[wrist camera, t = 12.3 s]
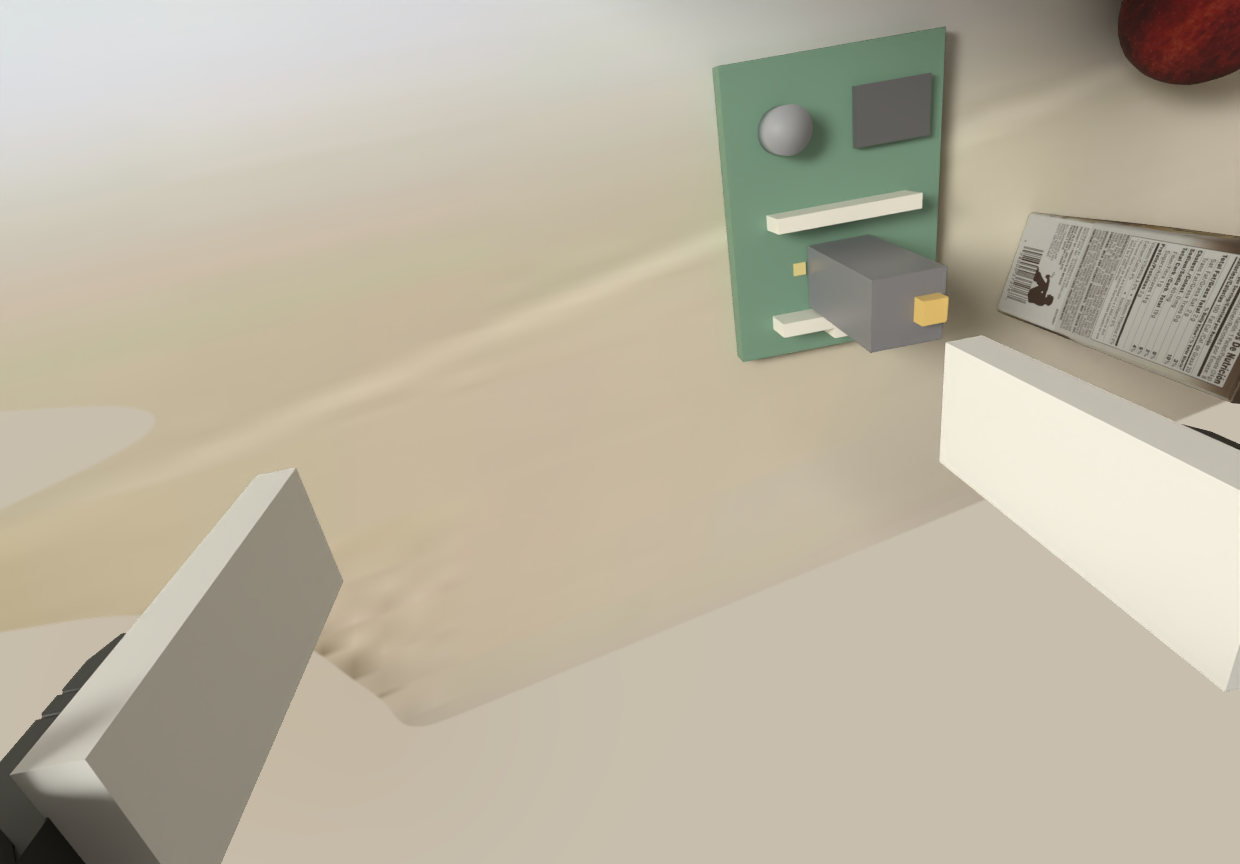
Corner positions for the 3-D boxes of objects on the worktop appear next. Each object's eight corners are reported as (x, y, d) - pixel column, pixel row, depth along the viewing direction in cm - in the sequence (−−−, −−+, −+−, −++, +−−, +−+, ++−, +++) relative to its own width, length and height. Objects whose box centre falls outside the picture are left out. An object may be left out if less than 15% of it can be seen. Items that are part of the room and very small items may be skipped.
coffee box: (1159, 223, 41) (1504, 272, 26) (1116, 325, 44) (1410, 420, 29) (1027, 208, 40) (1315, 250, 25) (991, 313, 42) (1233, 407, 28)
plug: (807, 245, 38) (880, 284, 30) (868, 234, 38) (957, 270, 30) (808, 306, 39) (878, 358, 32) (867, 295, 39) (951, 344, 32)
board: (712, 68, 35) (728, 62, 32) (933, 29, 35) (967, 20, 32) (737, 356, 41) (752, 372, 39) (922, 320, 42) (950, 333, 39)
